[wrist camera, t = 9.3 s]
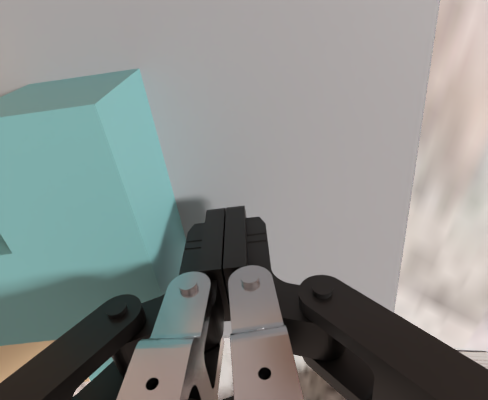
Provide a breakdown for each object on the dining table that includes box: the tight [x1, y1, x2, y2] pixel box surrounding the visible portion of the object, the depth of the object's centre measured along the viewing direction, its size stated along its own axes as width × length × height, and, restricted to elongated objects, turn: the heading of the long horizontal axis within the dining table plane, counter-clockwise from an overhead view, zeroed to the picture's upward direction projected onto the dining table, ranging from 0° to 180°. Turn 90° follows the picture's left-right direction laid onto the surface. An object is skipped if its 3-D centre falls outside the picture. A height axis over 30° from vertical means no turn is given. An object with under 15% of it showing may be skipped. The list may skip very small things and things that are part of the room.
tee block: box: [0, 68, 186, 381], centre depth 13 cm, size 12×12×4 cm
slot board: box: [0, 0, 440, 383], centre depth 14 cm, size 26×18×4 cm
